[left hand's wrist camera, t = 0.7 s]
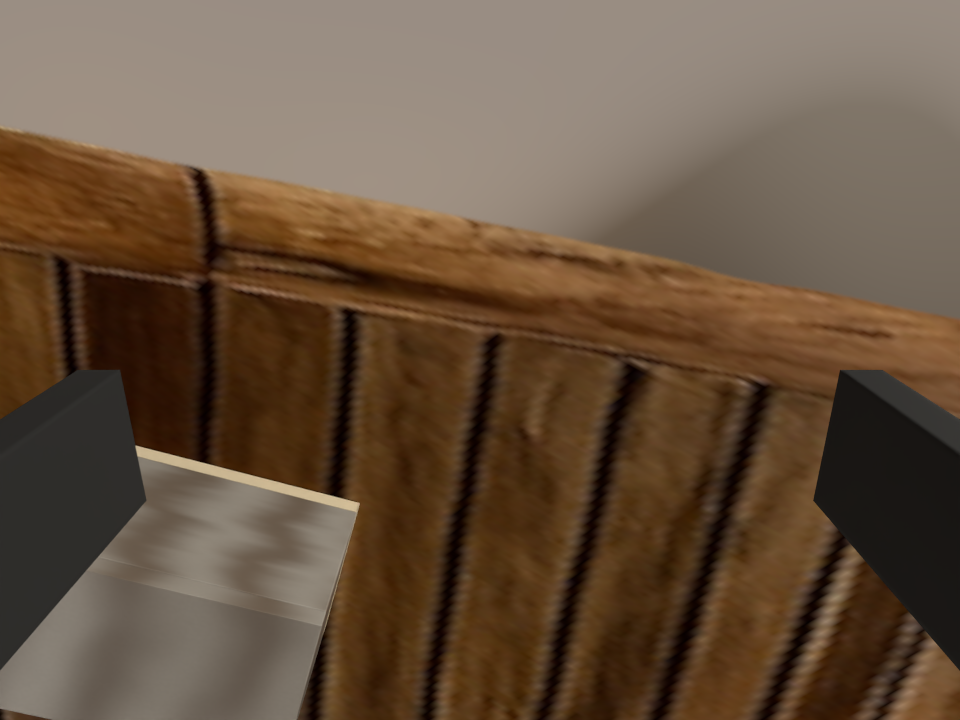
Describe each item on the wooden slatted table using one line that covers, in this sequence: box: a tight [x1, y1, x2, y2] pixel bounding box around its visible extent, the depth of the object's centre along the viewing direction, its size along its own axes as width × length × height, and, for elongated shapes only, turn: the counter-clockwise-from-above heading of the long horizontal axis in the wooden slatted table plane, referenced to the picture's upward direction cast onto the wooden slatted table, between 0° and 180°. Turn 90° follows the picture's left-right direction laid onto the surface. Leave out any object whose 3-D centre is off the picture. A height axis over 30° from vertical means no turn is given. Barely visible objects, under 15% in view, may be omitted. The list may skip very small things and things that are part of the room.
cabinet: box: [0, 446, 360, 720], centre depth 40 cm, size 21×11×11 cm, turn 73°
